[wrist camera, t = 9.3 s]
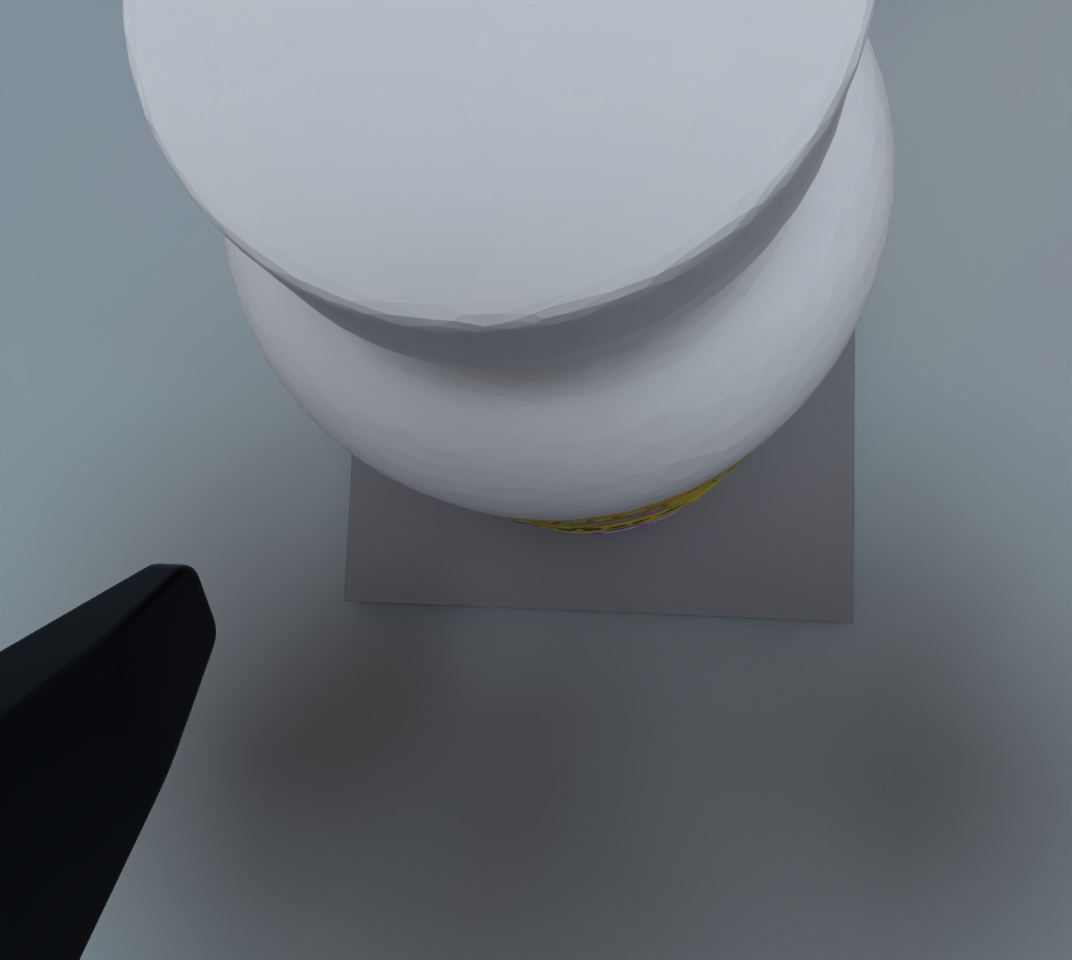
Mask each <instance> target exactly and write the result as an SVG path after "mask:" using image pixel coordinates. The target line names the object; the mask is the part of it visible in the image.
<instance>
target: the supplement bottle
mask: <svg viewBox="0 0 1072 960" xmlns="http://www.w3.org/2000/svg"><path fill="white" fill-rule="evenodd" d="M875 4H876V0H123V19H124V29H125V36H126V43H127V50H128V57H129V64H130V67H131V71H132V75H133V79H134V82H135V86H136V90H137V94H138V97H139V100H140V102H141V105H142V108H143V111H144V113H145V116H146V119H147V121H148V124H149V127H150V129H151V131H152V133H153V134H154V136H155V138H156V140H157V142H158V144H159V145H160V147H161V149H162V151H163V153H164V155H165V156H166V158H167V160H168V162H169V164H170V166H171V167H172V169H173V171H174V173H175V175H176V177H177V178H178V179H179V181H180V182H181V184H182V185H183V187H184V188H185V190H186V191H187V192H188V194H189V195H190V197H191V198H192V199H193V201H194V202H195V203H196V204H197V206H198V207H199V208H200V209H201V210H202V212H203V213H204V214H205V215H206V216H207V218H208V219H209V220H210V221H211V222H212V223H213V224H214V225H215V226H216V227H217V228H218V229H219V230H220V231H221V232H222V233H223V235H224V241H225V246H226V251H227V257H228V262H229V267H230V271H231V274H232V278H233V282H234V285H235V288H236V292H237V295H238V298H239V301H240V304H241V306H242V308H243V311H244V313H245V316H246V318H247V321H248V323H249V325H250V327H251V330H252V332H253V334H254V336H255V338H256V340H257V342H258V344H259V346H260V348H261V349H262V351H263V353H264V355H265V357H266V359H267V361H268V363H269V364H270V366H271V368H272V369H273V370H274V372H275V373H276V375H277V376H278V378H279V379H280V381H281V382H282V383H283V385H284V386H285V387H286V389H287V390H288V391H289V392H290V394H291V395H292V396H293V398H294V399H295V400H296V401H297V403H298V404H299V405H300V406H301V407H302V408H303V409H304V410H305V412H306V413H307V414H308V415H309V416H310V417H311V418H312V419H313V420H314V421H315V422H316V423H317V424H318V425H319V426H320V427H321V428H322V429H323V430H324V431H325V432H326V433H327V434H328V435H329V436H331V437H332V438H333V439H334V440H335V441H337V442H338V443H339V444H340V445H342V446H343V447H344V448H345V449H346V450H348V451H349V452H350V453H351V454H353V455H354V456H356V457H357V458H359V459H360V460H362V461H363V462H365V463H366V464H368V465H369V466H371V467H372V468H374V469H376V470H377V471H379V472H380V473H382V474H384V475H386V476H387V477H389V478H391V479H393V480H395V481H397V482H399V483H401V484H403V485H405V486H407V487H409V488H411V489H413V490H415V491H418V492H420V493H423V494H425V495H428V496H431V497H433V498H436V499H439V500H441V501H444V502H447V503H450V504H453V505H456V506H459V507H462V508H465V509H468V510H471V511H475V512H480V513H485V514H489V515H495V516H499V517H502V518H505V519H509V520H512V521H514V522H518V523H523V524H527V525H530V526H534V527H539V528H543V529H548V530H554V531H559V532H565V533H573V534H607V533H616V532H622V531H627V530H632V529H636V528H639V527H643V526H646V525H650V524H652V523H655V522H657V521H660V520H662V519H665V518H667V517H669V516H671V515H673V514H675V513H677V512H679V511H681V510H682V509H684V508H685V507H687V506H689V505H690V504H692V503H693V502H695V501H696V500H697V499H699V498H700V497H702V496H703V495H704V494H706V493H707V492H708V491H709V490H711V489H712V488H713V487H714V486H715V485H716V484H717V483H719V482H720V481H721V480H722V479H723V478H724V477H725V476H726V475H727V474H728V473H730V472H731V471H732V470H733V469H734V468H735V467H736V466H737V465H738V464H739V463H740V462H741V461H743V460H744V459H745V458H746V457H747V456H748V455H749V454H750V453H752V452H753V451H754V450H755V449H756V448H758V447H759V446H760V445H761V444H763V443H764V442H765V441H766V440H767V439H768V438H770V437H771V436H772V435H773V434H774V433H775V432H776V431H777V430H778V429H779V428H780V427H781V426H782V425H783V424H784V423H785V422H786V421H787V420H788V419H789V418H790V417H791V416H792V415H793V414H794V413H795V412H796V411H797V410H798V409H799V408H800V407H801V406H802V405H803V404H804V403H805V402H806V400H807V399H808V398H809V397H810V396H811V394H812V393H813V392H814V391H815V390H816V388H817V387H818V386H819V385H820V383H821V382H822V381H823V379H824V378H825V377H826V375H827V374H828V373H829V371H830V370H831V369H832V367H833V366H834V364H835V363H836V361H837V360H838V358H839V356H840V355H841V353H842V352H843V350H844V348H845V347H846V345H847V343H848V341H849V339H850V337H851V335H852V333H853V331H854V330H855V328H856V326H857V324H858V322H859V320H860V318H861V316H862V314H863V312H864V310H865V307H866V304H867V302H868V299H869V296H870V293H871V290H872V287H873V284H874V282H875V279H876V276H877V273H878V270H879V266H880V263H881V260H882V257H883V254H884V250H885V246H886V241H887V236H888V232H889V227H890V222H891V214H892V206H893V199H894V191H895V141H894V134H893V127H892V120H891V113H890V107H889V103H888V98H887V93H886V88H885V83H884V79H883V76H882V73H881V70H880V67H879V65H878V62H877V59H876V56H875V53H874V51H873V48H872V45H871V43H870V40H869V38H868V33H869V30H870V27H871V24H872V19H873V14H874V9H875Z"/></svg>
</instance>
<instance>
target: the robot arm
mask: <svg viewBox="0 0 1072 960" xmlns="http://www.w3.org/2000/svg"><path fill="white" fill-rule="evenodd" d="M215 637H216V627H215V621H214V618H213V615H212V612H211V610H210V607H209V604H208V601H207V598H206V596H205V593H204V590H203V587H202V585H201V582H200V579H199V576H198V574H197V572H196V571H195V570H194V569H193V568H192V567H190V566H188V565H184V564H153V565H150V566H148V567H146V568H144V569H142V570H141V571H139V572H137V573H135V574H134V575H132V576H130V577H128V578H127V579H125V580H123V581H122V582H120V583H118V584H116V585H115V586H113V587H111V588H109V589H108V590H106V591H104V592H102V593H101V594H99V595H97V596H96V597H94V598H92V599H90V600H89V601H87V602H85V603H83V604H82V605H80V606H78V607H77V608H75V609H73V610H71V611H70V612H68V613H66V614H64V615H63V616H61V617H59V618H57V619H56V620H54V621H52V622H51V623H49V624H47V625H45V626H44V627H42V628H40V629H38V630H37V631H35V632H33V633H31V634H30V635H28V636H26V637H25V638H23V639H21V640H19V641H18V642H16V643H14V644H12V645H11V646H9V647H7V648H5V649H4V650H2V651H0V960H80V958H81V955H82V953H83V951H84V949H85V947H86V945H87V943H88V941H89V939H90V937H91V934H92V932H93V930H94V928H95V926H96V924H97V922H98V920H99V918H100V916H101V913H102V911H103V909H104V907H105V905H106V903H107V901H108V899H109V897H110V895H111V893H112V890H113V888H114V886H115V884H116V882H117V880H118V878H119V876H120V874H121V872H122V869H123V867H124V865H125V863H126V861H127V859H128V857H129V855H130V853H131V851H132V849H133V846H134V844H135V842H136V840H137V838H138V836H139V834H140V832H141V830H142V828H143V825H144V823H145V821H146V819H147V817H148V815H149V813H150V811H151V809H152V807H153V804H154V802H155V800H156V798H157V796H158V794H159V792H160V790H161V787H162V785H163V783H164V781H165V778H166V776H167V774H168V772H169V769H170V767H171V764H172V761H173V759H174V756H175V754H176V751H177V748H178V746H179V743H180V740H181V737H182V734H183V731H184V729H185V726H186V723H187V720H188V717H189V714H190V712H191V709H192V706H193V703H194V700H195V697H196V695H197V692H198V689H199V686H200V683H201V680H202V678H203V675H204V672H205V669H206V666H207V664H208V661H209V658H210V655H211V652H212V649H213V646H214V643H215Z"/></svg>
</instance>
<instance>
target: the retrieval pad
mask: <svg viewBox="0 0 1072 960" xmlns="http://www.w3.org/2000/svg"><path fill="white" fill-rule="evenodd" d="M854 352H855V330H854V331H853V333H852V335H851V337H850V339H849V341H848V343H847V345H846V347H845V348H844V350H843V352H842V353H841V355H840V356H839V358H838V360H837V361H836V363H835V364H834V366H833V367H832V369H831V370H830V371H829V373H828V374H827V375H826V377H825V378H824V379H823V381H822V382H821V383H820V385H819V386H818V387H817V388H816V390H815V391H814V392H813V393H812V394H811V396H810V397H809V398H808V399H807V400H806V402H805V403H804V404H803V405H802V406H801V407H800V408H799V409H798V410H797V411H796V412H795V413H794V414H793V415H792V416H791V417H790V418H789V419H788V420H787V421H786V422H785V423H784V424H783V425H782V426H781V427H780V428H779V429H778V430H777V431H776V432H775V433H774V434H773V435H772V436H771V437H770V438H768V439H767V440H766V441H765V442H764V443H763V444H761V445H760V446H759V447H758V448H756V449H755V450H754V451H753V452H752V453H750V454H749V455H748V456H747V457H746V458H745V459H744V460H743V461H741V462H740V463H739V464H738V465H737V466H736V467H735V468H734V469H733V470H732V471H731V472H730V473H728V474H727V475H726V476H725V477H724V478H723V479H722V480H721V481H720V482H719V483H717V484H716V485H715V486H714V487H713V488H712V489H711V490H709V491H708V492H707V493H706V494H704V495H703V496H702V497H700V498H699V499H697V500H696V501H695V502H693V503H692V504H690V505H689V506H687V507H685V508H684V509H682V510H681V511H679V512H677V513H675V514H673V515H671V516H669V517H667V518H665V519H662V520H660V521H657V522H655V523H652V524H650V525H646V526H643V527H639V528H636V529H632V530H627V531H622V532H616V533H607V534H573V533H565V532H559V531H554V530H548V529H543V528H539V527H534V526H530V525H527V524H523V523H518V522H514V521H512V520H509V519H505V518H502V517H499V516H495V515H489V514H485V513H480V512H475V511H471V510H468V509H465V508H462V507H459V506H456V505H453V504H450V503H447V502H444V501H441V500H439V499H436V498H433V497H431V496H428V495H425V494H423V493H420V492H418V491H415V490H413V489H411V488H409V487H407V486H405V485H403V484H401V483H399V482H397V481H395V480H393V479H391V478H389V477H387V476H386V475H384V474H382V473H380V472H379V471H377V470H376V469H374V468H372V467H371V466H369V465H368V464H366V463H365V462H363V461H362V460H360V459H359V458H357V457H356V456H354V455H353V454H352V468H351V487H350V507H349V526H348V545H347V565H346V584H345V601H359V602H382V603H406V604H429V605H453V606H476V607H500V608H523V609H547V610H570V611H594V612H617V613H641V614H664V615H688V616H711V617H735V618H758V619H782V620H805V621H828V622H852V623H853V540H854Z"/></svg>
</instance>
